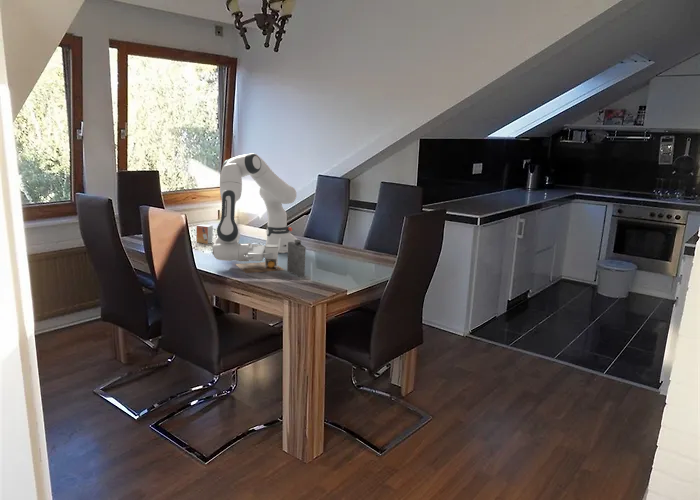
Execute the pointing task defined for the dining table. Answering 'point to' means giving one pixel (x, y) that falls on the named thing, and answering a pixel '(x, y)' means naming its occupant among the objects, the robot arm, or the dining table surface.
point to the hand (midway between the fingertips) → (273, 253)
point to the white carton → (273, 249)
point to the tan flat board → (257, 267)
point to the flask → (296, 258)
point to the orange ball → (271, 264)
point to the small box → (204, 234)
